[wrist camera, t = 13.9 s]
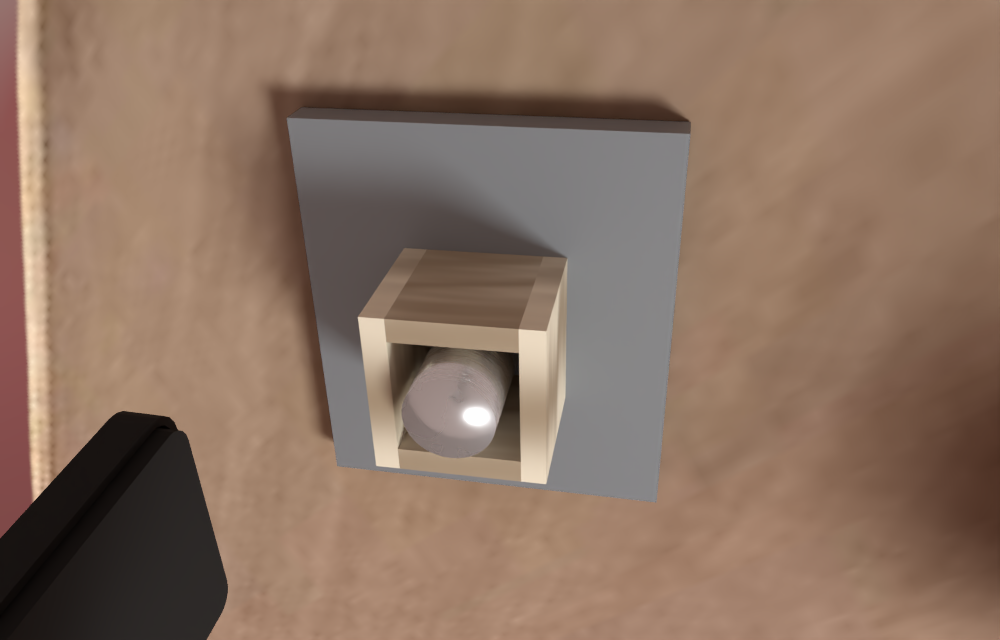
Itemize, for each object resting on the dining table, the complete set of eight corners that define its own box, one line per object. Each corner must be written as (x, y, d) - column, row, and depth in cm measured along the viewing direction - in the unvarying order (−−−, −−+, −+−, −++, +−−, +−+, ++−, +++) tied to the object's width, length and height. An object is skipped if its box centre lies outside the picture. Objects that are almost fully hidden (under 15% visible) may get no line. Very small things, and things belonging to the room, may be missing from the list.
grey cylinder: (444, 286, 37) (397, 375, 32) (526, 292, 37) (494, 384, 31) (448, 356, 39) (405, 452, 33) (527, 363, 39) (496, 463, 33)
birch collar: (404, 248, 37) (357, 317, 32) (567, 257, 36) (546, 331, 31) (416, 384, 40) (376, 465, 35) (565, 397, 39) (546, 484, 34)
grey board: (300, 107, 36) (286, 117, 35) (690, 121, 33) (690, 133, 32) (347, 447, 45) (337, 466, 44) (657, 481, 42) (656, 502, 41)
